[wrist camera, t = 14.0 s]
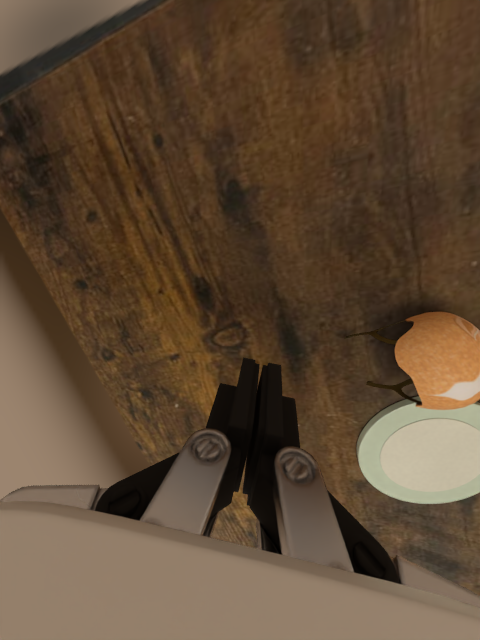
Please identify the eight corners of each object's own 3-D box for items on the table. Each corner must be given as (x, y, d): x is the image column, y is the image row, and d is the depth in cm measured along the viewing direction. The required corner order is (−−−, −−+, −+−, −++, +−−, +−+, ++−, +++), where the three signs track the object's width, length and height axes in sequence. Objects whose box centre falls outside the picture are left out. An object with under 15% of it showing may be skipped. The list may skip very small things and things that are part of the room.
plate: (342, 410, 23) (344, 416, 22) (505, 379, 20) (513, 385, 19) (370, 503, 26) (372, 511, 26) (511, 489, 23) (518, 497, 23)
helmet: (383, 360, 24) (508, 361, 17) (356, 416, 20) (504, 442, 14) (359, 306, 22) (486, 285, 16) (325, 355, 18) (475, 353, 12)
